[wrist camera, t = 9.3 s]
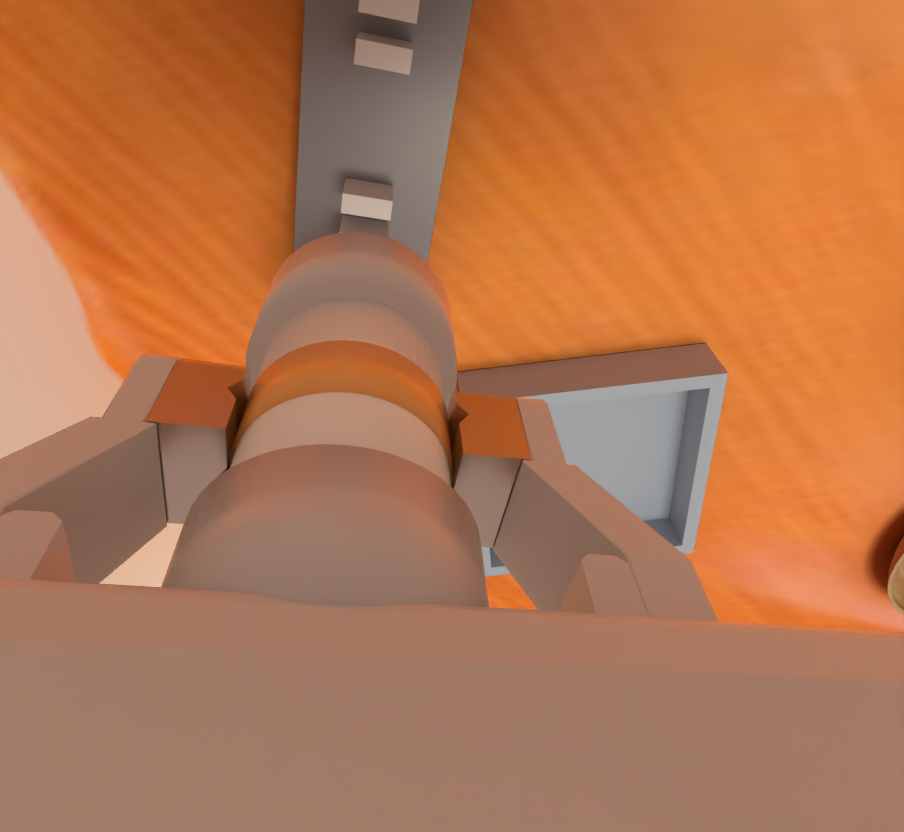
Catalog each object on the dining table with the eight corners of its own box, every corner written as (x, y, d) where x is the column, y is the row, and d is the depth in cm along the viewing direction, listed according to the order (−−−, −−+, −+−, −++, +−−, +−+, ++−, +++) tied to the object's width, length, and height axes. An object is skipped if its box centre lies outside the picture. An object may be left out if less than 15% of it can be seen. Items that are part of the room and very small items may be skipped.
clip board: (322, -274, 20) (310, -307, 18) (506, -222, 21) (523, -246, 19) (293, 334, 33) (283, 371, 30) (409, 348, 34) (410, 385, 31)
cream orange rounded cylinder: (242, 244, 12) (53, 626, 5) (440, 221, 12) (489, 576, 5) (291, 404, 14) (199, 810, 7) (458, 384, 14) (508, 775, 7)
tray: (456, 372, 35) (461, 404, 33) (705, 343, 35) (728, 373, 33) (474, 541, 43) (479, 577, 41) (676, 518, 43) (693, 552, 41)
